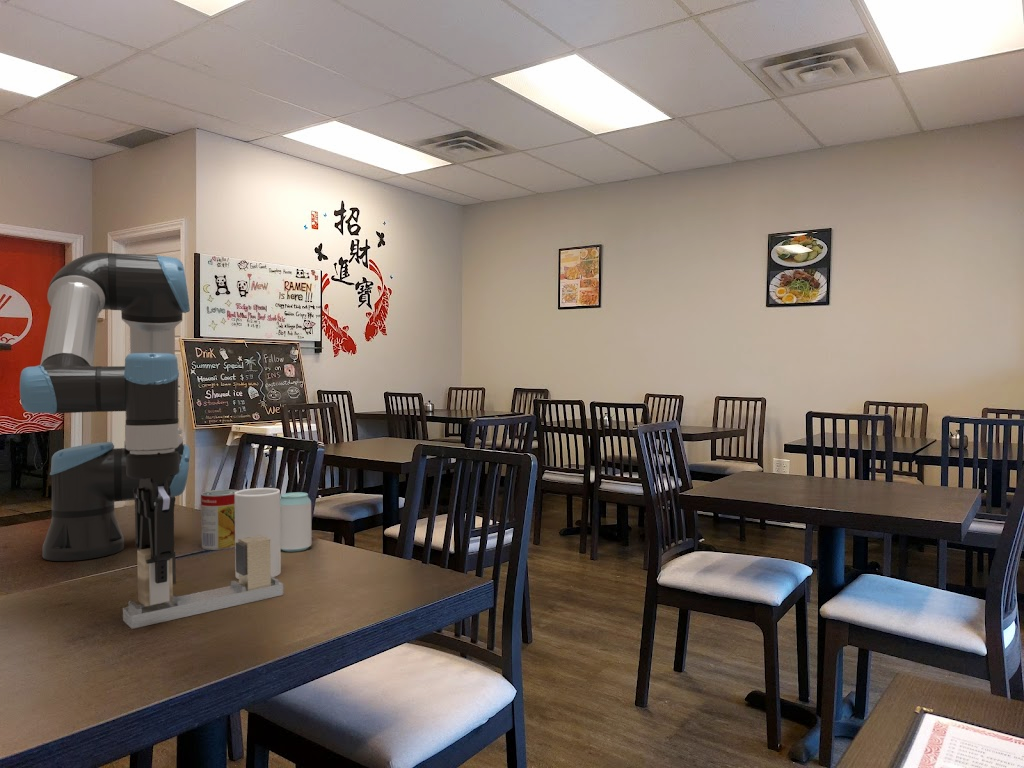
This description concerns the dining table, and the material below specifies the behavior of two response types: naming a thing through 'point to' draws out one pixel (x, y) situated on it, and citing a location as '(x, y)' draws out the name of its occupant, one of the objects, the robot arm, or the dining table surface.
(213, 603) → the rail
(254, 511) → the cup
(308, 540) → the can
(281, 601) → the dining table surface
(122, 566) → the dining table surface
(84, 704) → the dining table surface
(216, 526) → the canned food
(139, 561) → the block
